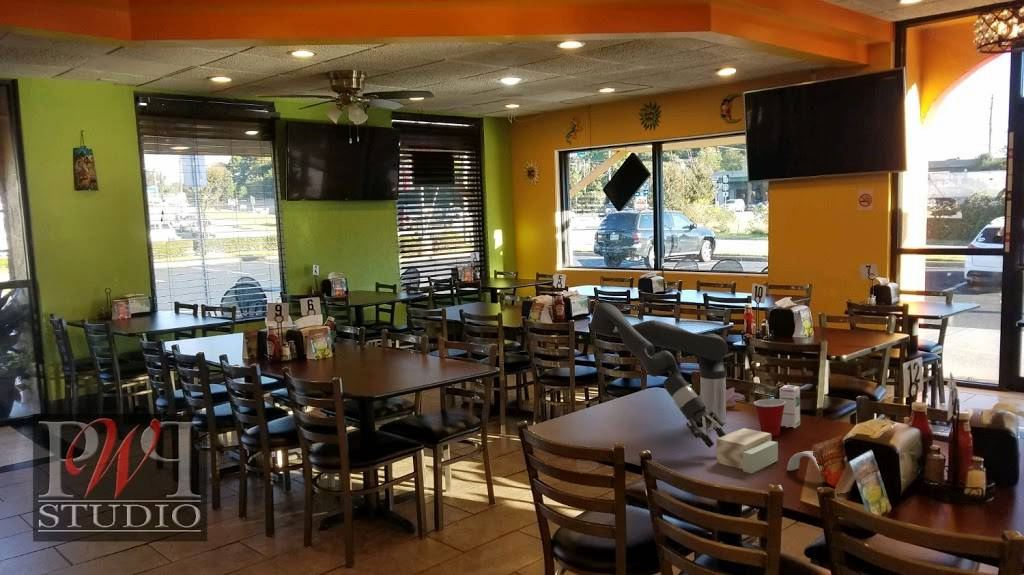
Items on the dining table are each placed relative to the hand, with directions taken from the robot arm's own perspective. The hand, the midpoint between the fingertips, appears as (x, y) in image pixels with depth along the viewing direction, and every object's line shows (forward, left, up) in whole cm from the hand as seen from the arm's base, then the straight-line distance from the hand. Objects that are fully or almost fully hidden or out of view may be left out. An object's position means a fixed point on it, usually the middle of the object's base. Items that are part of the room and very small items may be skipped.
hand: (718, 443), depth 248 cm
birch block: (+8, +2, -5) cm, 9 cm away
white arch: (+34, +1, -5) cm, 35 cm away
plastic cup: (0, +33, -5) cm, 34 cm away
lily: (-31, +57, -5) cm, 65 cm away
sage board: (+14, 0, -4) cm, 15 cm away
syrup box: (0, +48, -5) cm, 49 cm away
